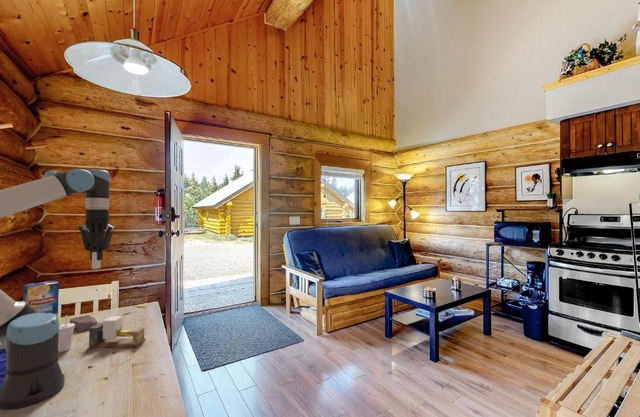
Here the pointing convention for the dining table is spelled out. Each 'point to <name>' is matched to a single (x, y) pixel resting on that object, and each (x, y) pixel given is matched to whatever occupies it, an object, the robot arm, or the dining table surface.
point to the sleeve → (112, 327)
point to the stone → (83, 322)
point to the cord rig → (99, 342)
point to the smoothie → (65, 336)
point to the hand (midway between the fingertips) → (96, 268)
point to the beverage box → (42, 296)
